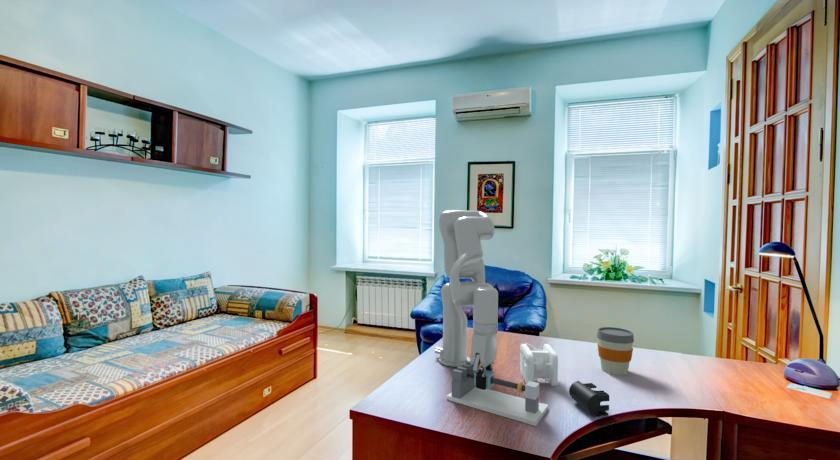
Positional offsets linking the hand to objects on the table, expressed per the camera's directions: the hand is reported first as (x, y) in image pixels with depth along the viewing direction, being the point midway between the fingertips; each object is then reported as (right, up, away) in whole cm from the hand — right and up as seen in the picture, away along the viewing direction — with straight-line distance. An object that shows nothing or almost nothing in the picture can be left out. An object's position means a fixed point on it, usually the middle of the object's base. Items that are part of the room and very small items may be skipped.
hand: (484, 385), depth 123 cm
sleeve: (0, 0, 0) cm, 0 cm away
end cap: (+31, -6, -5) cm, 31 cm away
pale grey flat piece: (+25, -5, +47) cm, 54 cm away
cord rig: (+3, -5, -2) cm, 6 cm away
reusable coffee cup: (+54, -5, +27) cm, 60 cm away
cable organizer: (+21, -5, +16) cm, 27 cm away
